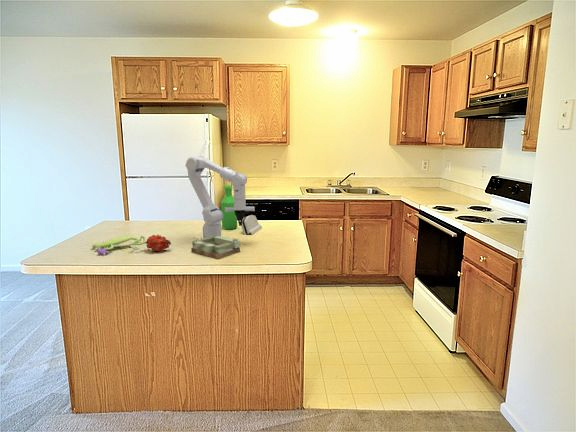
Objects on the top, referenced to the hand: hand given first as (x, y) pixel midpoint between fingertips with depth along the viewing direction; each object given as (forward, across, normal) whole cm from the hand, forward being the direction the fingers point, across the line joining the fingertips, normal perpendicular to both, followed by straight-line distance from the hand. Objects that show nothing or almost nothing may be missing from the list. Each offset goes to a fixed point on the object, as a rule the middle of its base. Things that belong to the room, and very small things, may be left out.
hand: (240, 225), depth 194 cm
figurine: (+10, +57, 0) cm, 58 cm away
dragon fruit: (+10, +39, +6) cm, 41 cm away
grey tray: (+9, +12, +12) cm, 19 cm away
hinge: (+10, -6, -24) cm, 27 cm away
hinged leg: (+7, +7, +10) cm, 14 cm away
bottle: (+10, +6, -32) cm, 34 cm away
